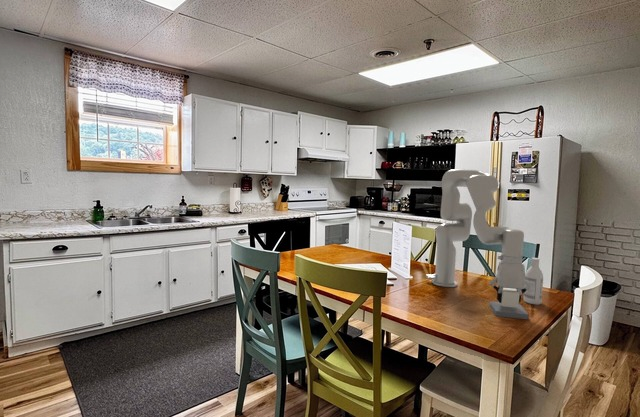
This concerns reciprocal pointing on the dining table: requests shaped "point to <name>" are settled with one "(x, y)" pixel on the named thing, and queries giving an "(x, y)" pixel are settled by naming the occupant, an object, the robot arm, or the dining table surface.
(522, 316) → the tile
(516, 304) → the block
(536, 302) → the bath foam
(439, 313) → the dining table surface
